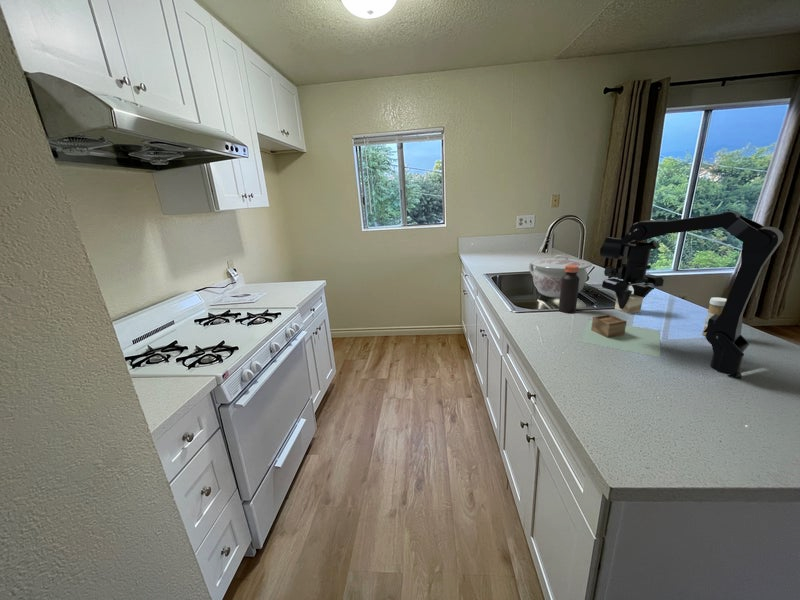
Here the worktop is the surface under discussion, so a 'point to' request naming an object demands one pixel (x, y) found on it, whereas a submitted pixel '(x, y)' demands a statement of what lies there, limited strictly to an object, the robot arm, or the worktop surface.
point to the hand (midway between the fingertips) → (627, 307)
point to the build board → (627, 340)
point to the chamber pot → (555, 273)
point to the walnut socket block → (608, 326)
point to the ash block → (631, 304)
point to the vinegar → (569, 290)
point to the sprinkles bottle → (714, 309)
